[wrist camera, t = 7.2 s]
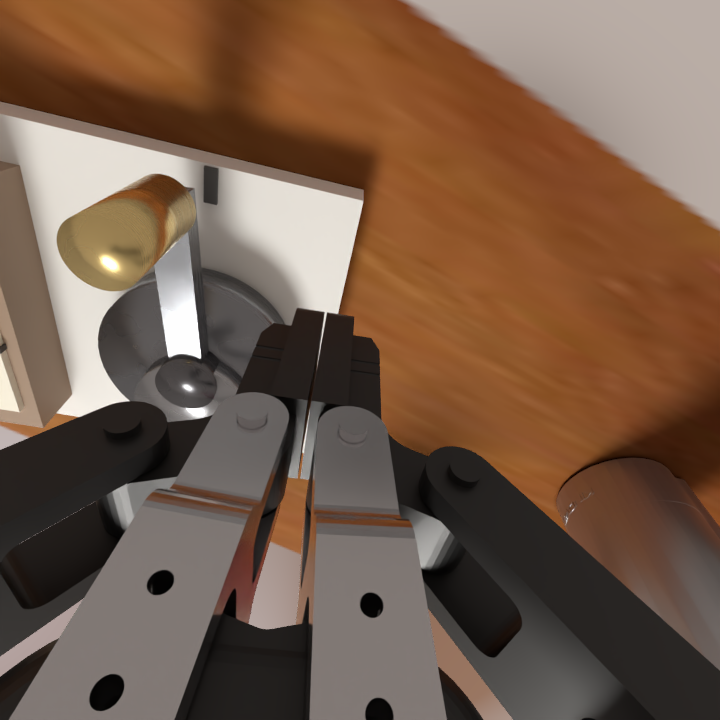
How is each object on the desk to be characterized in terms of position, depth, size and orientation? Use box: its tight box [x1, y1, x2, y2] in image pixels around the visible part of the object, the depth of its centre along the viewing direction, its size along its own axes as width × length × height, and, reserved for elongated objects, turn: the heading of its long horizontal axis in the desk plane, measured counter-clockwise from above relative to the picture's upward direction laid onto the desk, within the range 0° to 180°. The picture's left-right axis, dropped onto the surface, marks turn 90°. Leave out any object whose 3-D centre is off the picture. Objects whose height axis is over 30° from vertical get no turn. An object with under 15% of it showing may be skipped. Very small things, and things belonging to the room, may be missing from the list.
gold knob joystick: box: [57, 174, 285, 422], centre depth 20 cm, size 15×10×8 cm, turn 172°
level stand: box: [0, 102, 364, 453], centre depth 23 cm, size 20×18×5 cm
